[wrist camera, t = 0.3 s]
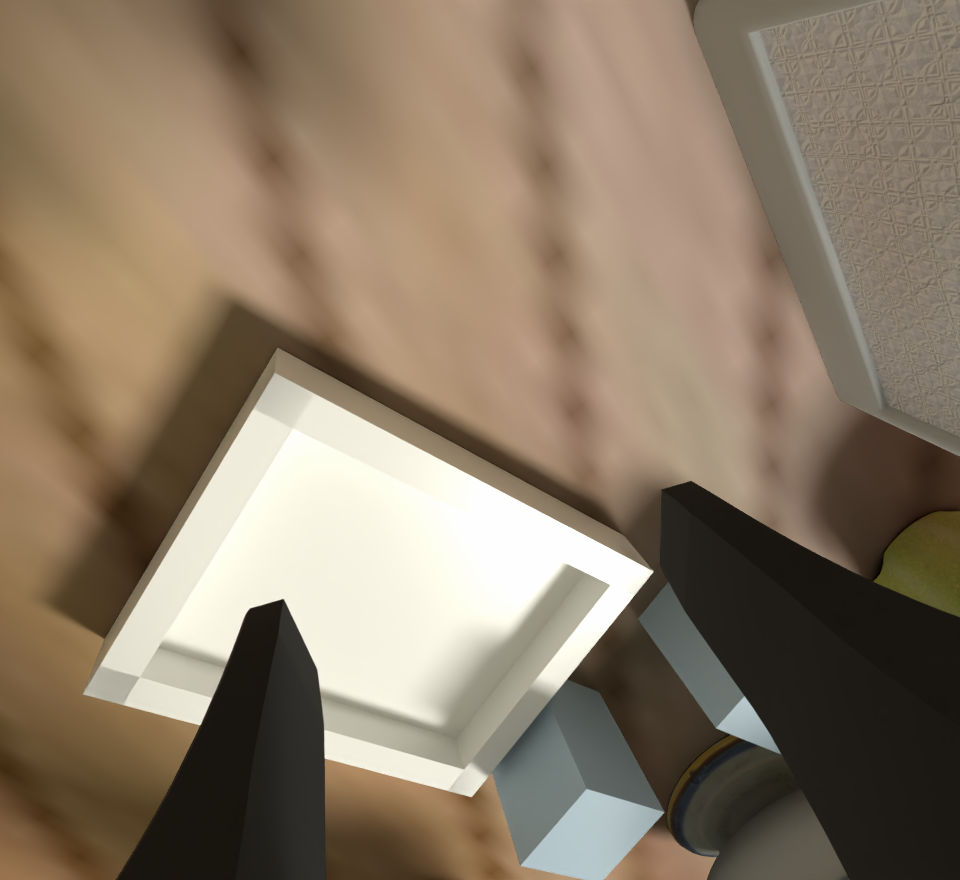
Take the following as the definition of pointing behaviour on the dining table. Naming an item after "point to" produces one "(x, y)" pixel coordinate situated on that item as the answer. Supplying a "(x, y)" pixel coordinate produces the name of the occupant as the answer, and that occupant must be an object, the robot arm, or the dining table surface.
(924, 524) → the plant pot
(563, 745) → the block
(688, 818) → the apothecary jar
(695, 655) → the block
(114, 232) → the dining table surface
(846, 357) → the red striped block
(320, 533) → the tray
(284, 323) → the dining table surface
